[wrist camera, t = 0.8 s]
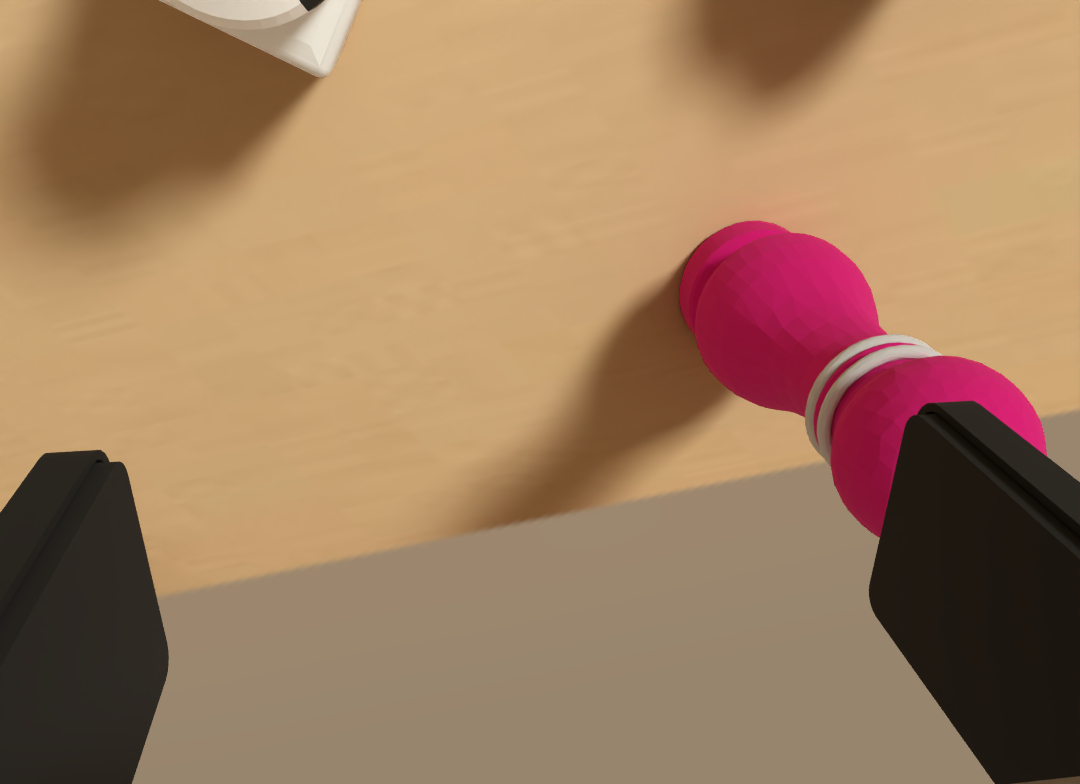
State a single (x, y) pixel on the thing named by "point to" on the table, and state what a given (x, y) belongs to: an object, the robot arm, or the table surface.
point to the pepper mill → (827, 355)
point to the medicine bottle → (282, 27)
